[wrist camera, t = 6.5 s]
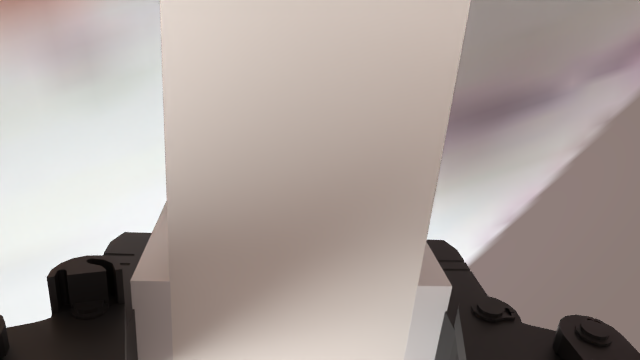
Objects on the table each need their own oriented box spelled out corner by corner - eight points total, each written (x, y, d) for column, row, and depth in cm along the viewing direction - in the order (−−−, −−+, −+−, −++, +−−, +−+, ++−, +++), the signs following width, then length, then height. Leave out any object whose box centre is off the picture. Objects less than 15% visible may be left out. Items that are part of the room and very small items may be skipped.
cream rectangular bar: (176, -362, 8) (137, -505, 6) (475, -314, 9) (554, -424, 6) (190, 387, 14) (174, 474, 12) (367, 387, 15) (386, 468, 12)
